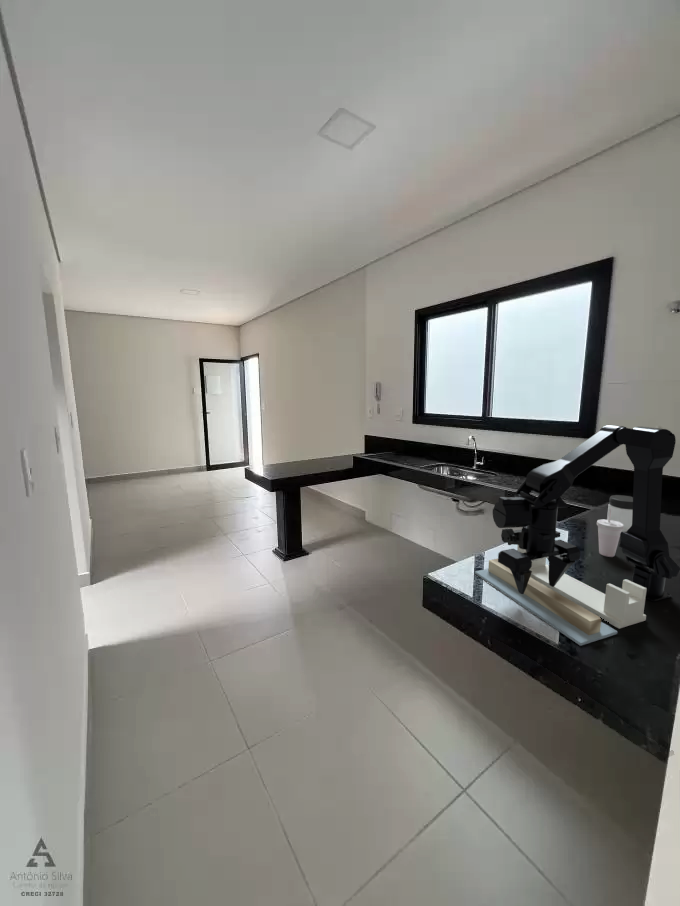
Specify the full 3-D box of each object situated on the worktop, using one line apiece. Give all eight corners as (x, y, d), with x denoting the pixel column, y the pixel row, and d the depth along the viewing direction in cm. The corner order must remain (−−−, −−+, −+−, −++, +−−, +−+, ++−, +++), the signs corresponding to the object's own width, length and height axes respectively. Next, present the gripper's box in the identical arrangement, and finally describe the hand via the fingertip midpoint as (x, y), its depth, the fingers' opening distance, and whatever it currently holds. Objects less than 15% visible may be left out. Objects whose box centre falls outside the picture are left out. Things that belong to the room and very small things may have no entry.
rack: (535, 562, 103) (537, 537, 102) (645, 620, 77) (650, 587, 76) (513, 567, 100) (515, 541, 99) (619, 628, 74) (623, 594, 73)
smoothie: (609, 549, 111) (614, 505, 109) (626, 558, 105) (631, 511, 102) (588, 549, 111) (593, 505, 109) (604, 559, 104) (609, 512, 102)
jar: (609, 525, 130) (613, 493, 128) (638, 532, 124) (642, 498, 122) (603, 532, 124) (606, 498, 122) (633, 539, 118) (637, 503, 116)
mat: (504, 567, 101) (504, 565, 101) (617, 633, 73) (617, 631, 73) (474, 573, 97) (474, 571, 97) (580, 645, 69) (580, 642, 69)
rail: (497, 568, 99) (497, 558, 98) (599, 631, 72) (601, 618, 72) (488, 570, 98) (488, 560, 97) (589, 635, 71) (590, 621, 71)
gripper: (543, 509, 93) (538, 567, 95) (482, 519, 87) (479, 580, 89) (584, 524, 82) (578, 588, 85) (519, 536, 76) (515, 604, 79)
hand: (536, 589), depth 85 cm, fingers open, 9 cm apart
